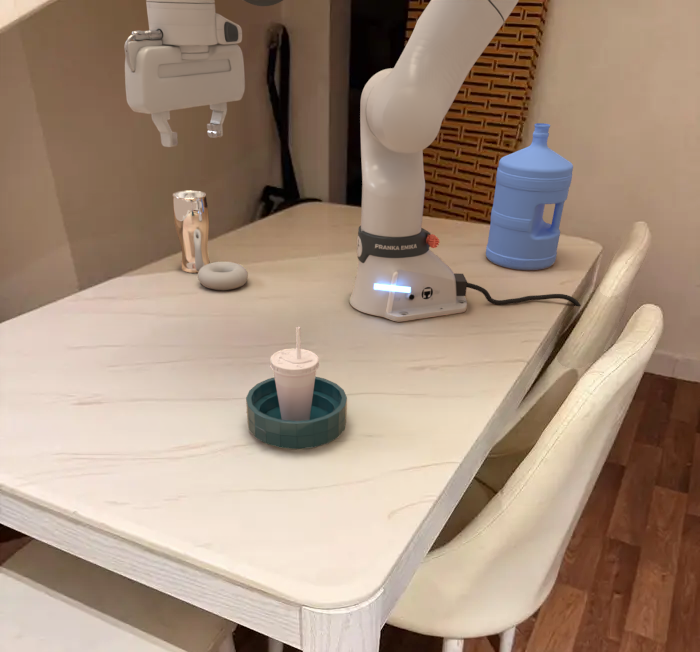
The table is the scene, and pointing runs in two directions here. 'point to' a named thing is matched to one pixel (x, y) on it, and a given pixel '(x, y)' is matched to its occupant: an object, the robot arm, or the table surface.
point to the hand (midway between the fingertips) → (193, 141)
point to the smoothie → (295, 380)
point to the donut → (222, 275)
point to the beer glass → (192, 228)
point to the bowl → (297, 434)
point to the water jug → (528, 205)
